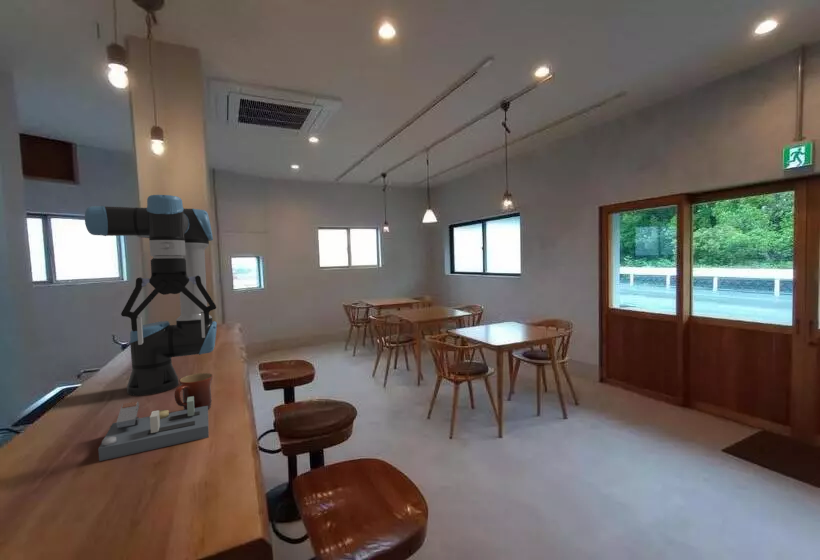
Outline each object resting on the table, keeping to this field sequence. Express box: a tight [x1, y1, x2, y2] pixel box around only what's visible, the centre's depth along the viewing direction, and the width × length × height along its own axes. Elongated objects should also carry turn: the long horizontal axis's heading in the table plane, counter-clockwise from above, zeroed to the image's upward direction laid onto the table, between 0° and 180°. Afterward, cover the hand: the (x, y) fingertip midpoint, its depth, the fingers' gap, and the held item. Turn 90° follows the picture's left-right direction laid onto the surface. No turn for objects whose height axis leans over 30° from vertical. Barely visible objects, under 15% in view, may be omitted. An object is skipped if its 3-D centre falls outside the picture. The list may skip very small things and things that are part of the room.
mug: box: [174, 372, 213, 411], centre depth 110 cm, size 12×9×10 cm
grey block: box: [187, 396, 195, 416], centre depth 101 cm, size 4×2×4 cm, turn 29°
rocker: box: [115, 401, 140, 428], centre depth 96 cm, size 8×4×2 cm, turn 29°
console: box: [97, 406, 210, 462], centre depth 96 cm, size 15×22×4 cm
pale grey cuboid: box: [150, 410, 160, 433], centre depth 92 cm, size 4×2×4 cm, turn 29°
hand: (173, 340), depth 95 cm, fingers open, 13 cm apart
